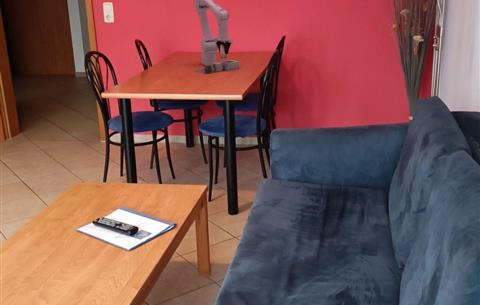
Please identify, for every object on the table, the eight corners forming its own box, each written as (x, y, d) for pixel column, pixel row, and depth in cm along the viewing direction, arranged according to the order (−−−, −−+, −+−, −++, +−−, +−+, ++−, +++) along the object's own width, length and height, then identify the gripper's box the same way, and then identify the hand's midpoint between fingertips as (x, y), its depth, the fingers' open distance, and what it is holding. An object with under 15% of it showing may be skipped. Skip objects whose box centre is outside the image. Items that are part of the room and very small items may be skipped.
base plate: (191, 72, 350) (191, 70, 350) (226, 66, 365) (226, 64, 365) (206, 76, 338) (206, 74, 338) (241, 69, 353) (241, 68, 352)
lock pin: (205, 71, 346) (204, 65, 344) (219, 69, 352) (219, 63, 351) (207, 72, 343) (207, 66, 342) (222, 69, 350) (222, 63, 349)
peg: (223, 57, 354) (223, 44, 351) (228, 57, 351) (227, 44, 348) (219, 58, 351) (218, 45, 348) (223, 58, 348) (222, 45, 346)
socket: (219, 68, 355) (218, 61, 354) (230, 66, 360) (230, 59, 359) (227, 70, 348) (227, 63, 347) (239, 68, 353) (239, 61, 352)
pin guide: (212, 69, 350) (211, 62, 349) (217, 69, 352) (217, 62, 351) (217, 71, 346) (216, 64, 344) (222, 70, 348) (222, 63, 347)
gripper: (209, 31, 348) (210, 53, 352) (226, 32, 338) (227, 55, 343) (218, 29, 353) (219, 52, 357) (235, 31, 343) (235, 54, 348)
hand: (223, 53), depth 350 cm, fingers closed on peg, 4 cm apart
